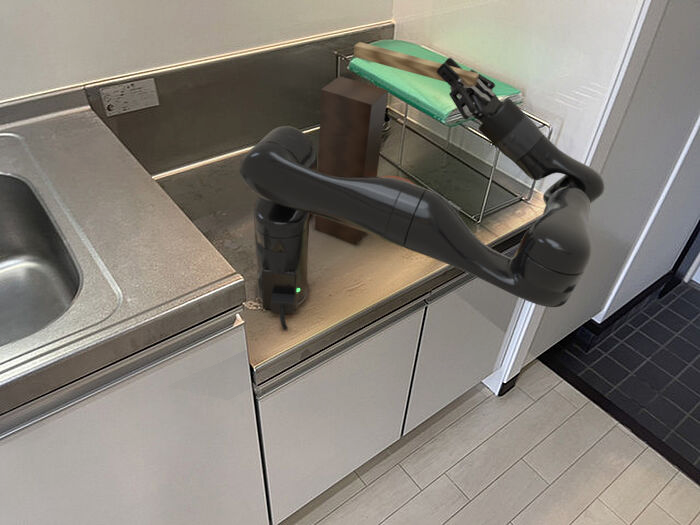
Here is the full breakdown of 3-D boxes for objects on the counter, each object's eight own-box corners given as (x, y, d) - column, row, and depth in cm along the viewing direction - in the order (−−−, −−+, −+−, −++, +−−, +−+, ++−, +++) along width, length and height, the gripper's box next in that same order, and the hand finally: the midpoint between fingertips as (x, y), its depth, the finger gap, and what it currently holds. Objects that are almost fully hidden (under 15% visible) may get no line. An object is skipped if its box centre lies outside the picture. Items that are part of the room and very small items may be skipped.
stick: (476, 85, 99) (479, 73, 97) (472, 89, 97) (475, 77, 96) (358, 53, 106) (359, 41, 104) (353, 56, 104) (354, 45, 103)
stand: (370, 227, 120) (388, 90, 98) (355, 245, 115) (371, 104, 94) (330, 212, 123) (339, 76, 101) (315, 229, 118) (321, 89, 97)
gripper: (485, 159, 97) (416, 92, 96) (505, 128, 107) (442, 66, 106) (516, 133, 92) (442, 61, 91) (534, 102, 101) (468, 37, 100)
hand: (443, 64), depth 98 cm, fingers closed on stick, 2 cm apart
